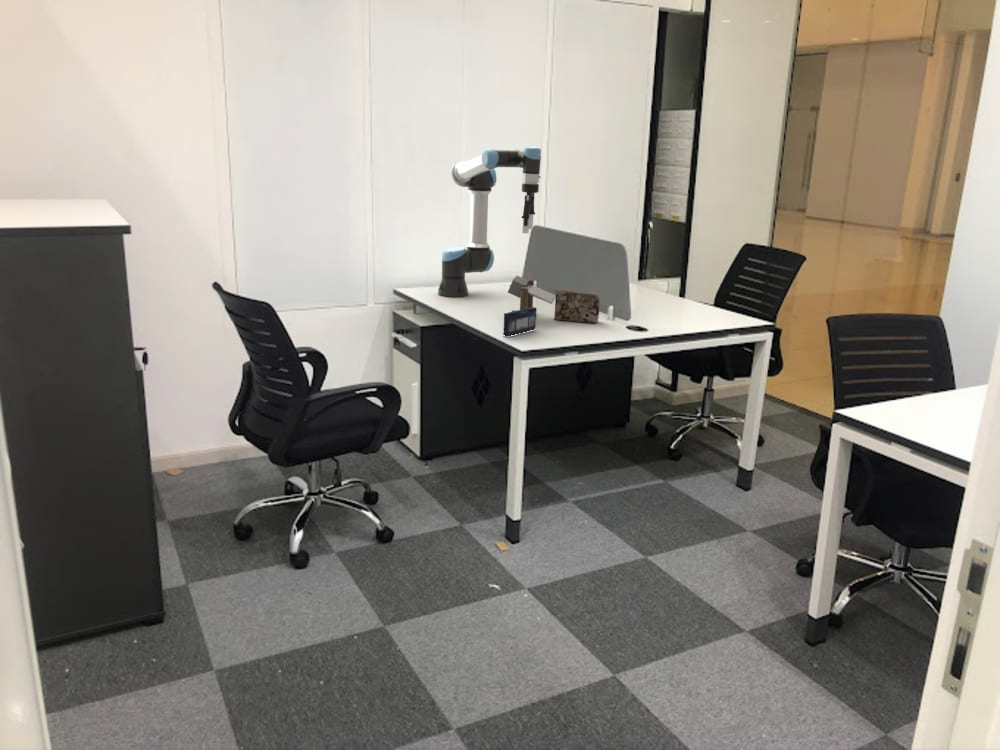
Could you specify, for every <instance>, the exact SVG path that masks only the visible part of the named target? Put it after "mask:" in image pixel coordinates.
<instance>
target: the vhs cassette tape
mask: <svg viewBox="0 0 1000 750" xmlns="http://www.w3.org/2000/svg"><path fill="white" fill-rule="evenodd" d="M537 309H538V308H537V307H534V306H533V307H531V308H526V309H521V310H520V309H519V310H518V309H516V311H513V312H512V311H509V312H504V314H503V328H502V329H503V330H502V331H503V332H502V335H505V336H511V335H515V334H519V333H523V332H527V331H530V330H534V329H535V330H536V324H537Z"/></svg>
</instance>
